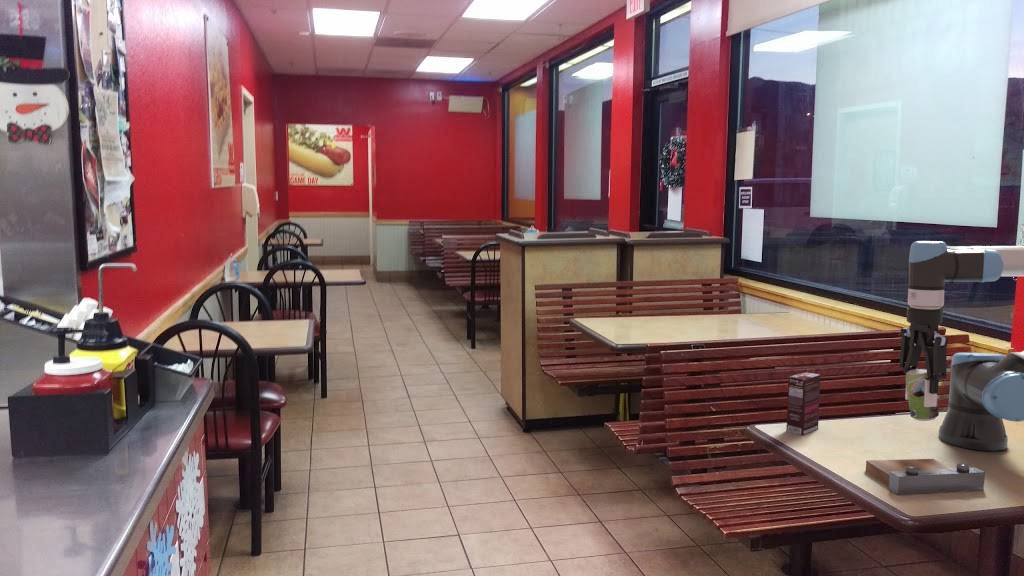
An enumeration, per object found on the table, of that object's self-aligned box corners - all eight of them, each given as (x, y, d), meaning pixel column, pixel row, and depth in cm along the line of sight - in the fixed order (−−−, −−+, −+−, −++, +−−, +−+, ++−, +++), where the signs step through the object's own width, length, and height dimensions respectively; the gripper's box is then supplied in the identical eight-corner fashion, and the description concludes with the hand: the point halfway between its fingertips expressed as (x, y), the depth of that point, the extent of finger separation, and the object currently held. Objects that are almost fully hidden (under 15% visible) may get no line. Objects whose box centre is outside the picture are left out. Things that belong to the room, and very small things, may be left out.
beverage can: (942, 423, 181) (944, 373, 179) (908, 422, 182) (910, 372, 181) (933, 416, 187) (935, 367, 185) (900, 415, 188) (902, 366, 187)
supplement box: (801, 429, 207) (804, 371, 206) (818, 433, 204) (821, 374, 202) (784, 435, 202) (787, 376, 200) (801, 440, 198) (804, 379, 196)
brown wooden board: (932, 471, 177) (933, 458, 177) (961, 487, 167) (962, 474, 167) (865, 473, 176) (866, 460, 175) (890, 489, 166) (891, 476, 165)
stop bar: (973, 484, 167) (974, 461, 167) (983, 490, 164) (985, 466, 164) (888, 489, 164) (890, 466, 164) (897, 495, 161) (899, 471, 161)
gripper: (885, 302, 190) (881, 393, 193) (938, 313, 172) (933, 414, 174) (912, 301, 192) (908, 392, 194) (968, 311, 173) (963, 412, 176)
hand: (920, 402), depth 184 cm, fingers closed on beverage can, 6 cm apart
